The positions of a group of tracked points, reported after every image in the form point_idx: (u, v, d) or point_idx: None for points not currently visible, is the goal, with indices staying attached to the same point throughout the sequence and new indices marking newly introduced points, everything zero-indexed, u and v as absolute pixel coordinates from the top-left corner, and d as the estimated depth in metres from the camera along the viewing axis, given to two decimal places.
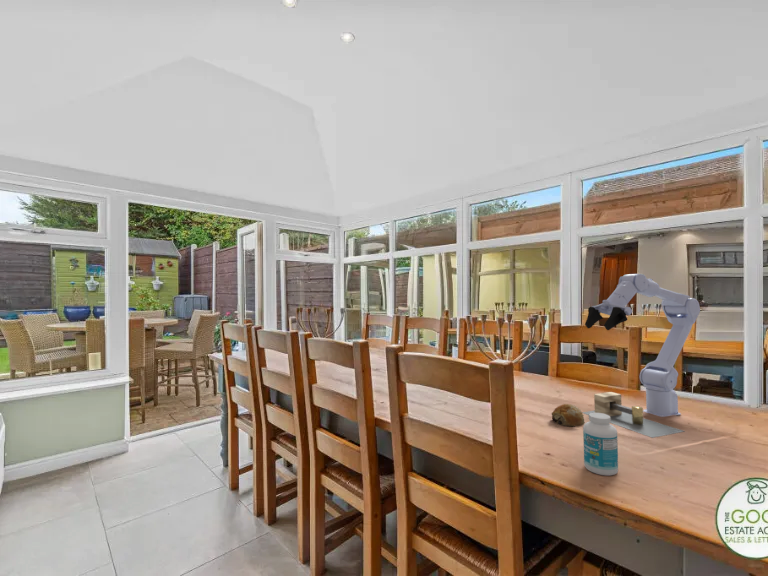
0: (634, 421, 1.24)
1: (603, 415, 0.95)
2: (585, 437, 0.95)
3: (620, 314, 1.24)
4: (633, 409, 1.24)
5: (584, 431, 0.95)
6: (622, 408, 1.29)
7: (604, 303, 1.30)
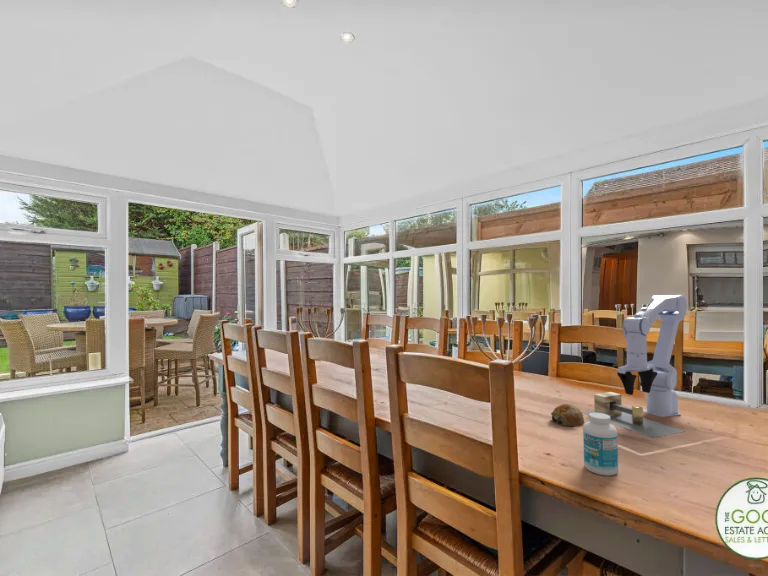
0: (634, 421, 1.24)
1: (603, 415, 0.95)
2: (585, 437, 0.95)
3: None
4: (633, 409, 1.24)
5: (584, 431, 0.95)
6: (622, 408, 1.29)
7: (644, 369, 1.26)
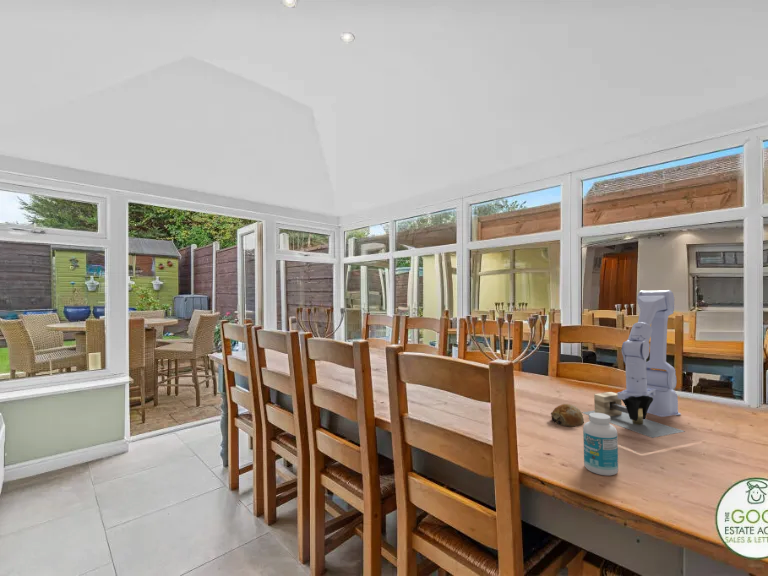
0: (634, 421, 1.24)
1: (603, 415, 0.95)
2: (585, 437, 0.95)
3: None
4: None
5: (584, 431, 0.95)
6: (622, 408, 1.29)
7: None
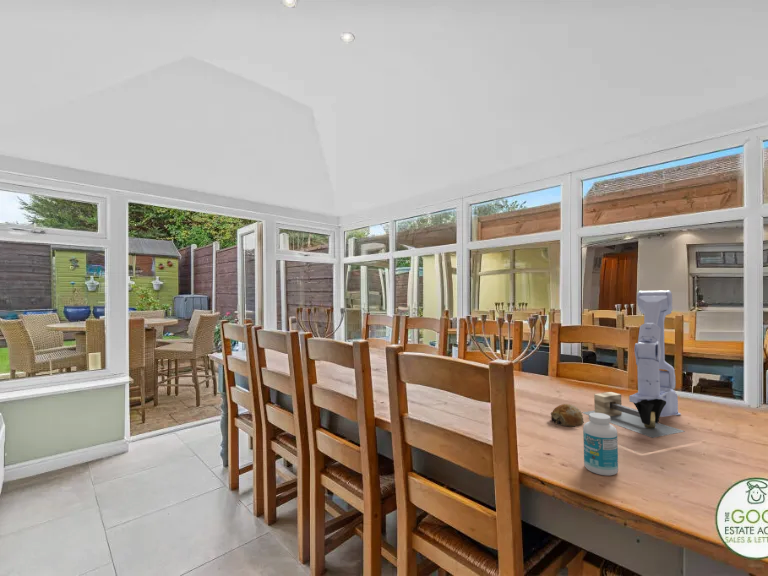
0: (646, 425, 1.20)
1: (603, 415, 0.95)
2: (585, 437, 0.95)
3: None
4: None
5: (584, 431, 0.95)
6: (633, 411, 1.25)
7: (657, 398, 1.18)
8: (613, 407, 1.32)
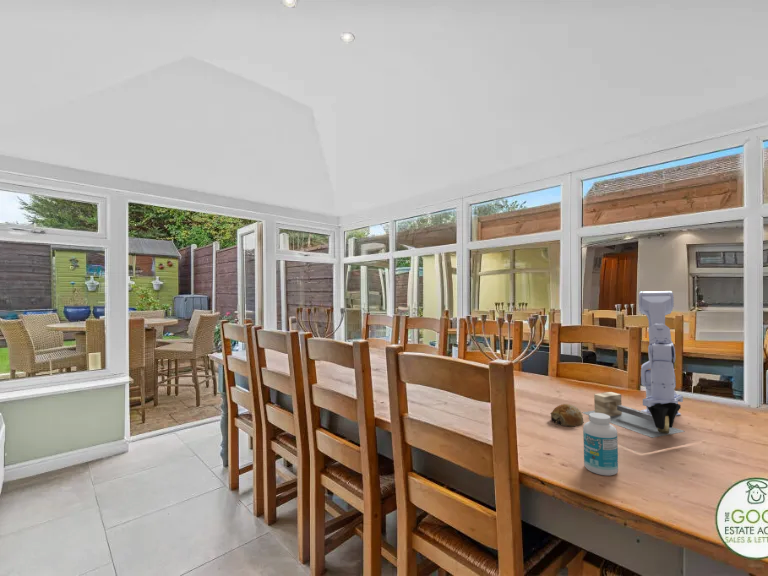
0: (660, 429, 1.16)
1: (603, 415, 0.95)
2: (585, 437, 0.95)
3: None
4: None
5: (584, 431, 0.95)
6: (646, 415, 1.21)
7: None
8: (624, 410, 1.28)
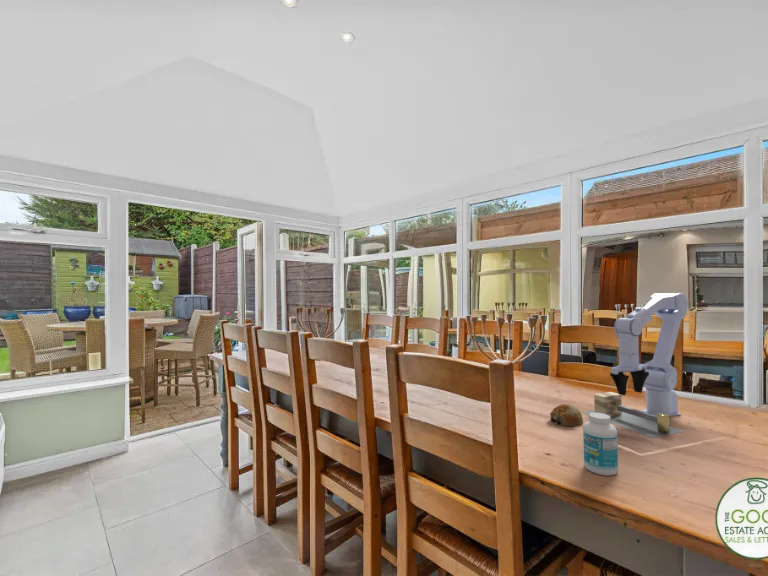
0: (660, 429, 1.16)
1: (603, 415, 0.95)
2: (585, 437, 0.95)
3: None
4: (659, 417, 1.16)
5: (584, 431, 0.95)
6: (646, 415, 1.21)
7: (636, 370, 1.26)
8: (624, 410, 1.28)
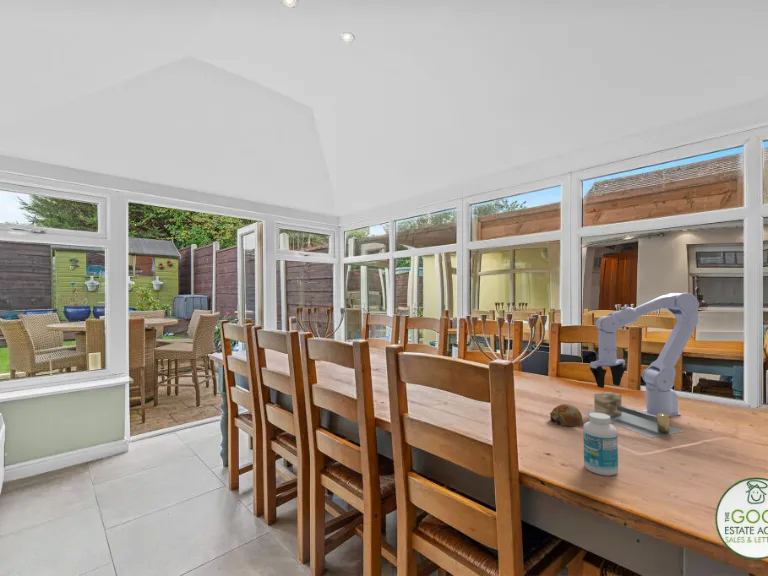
0: (660, 429, 1.16)
1: (603, 415, 0.95)
2: (585, 437, 0.95)
3: None
4: (659, 417, 1.16)
5: (584, 431, 0.95)
6: (646, 415, 1.21)
7: (614, 364, 1.36)
8: (624, 410, 1.28)
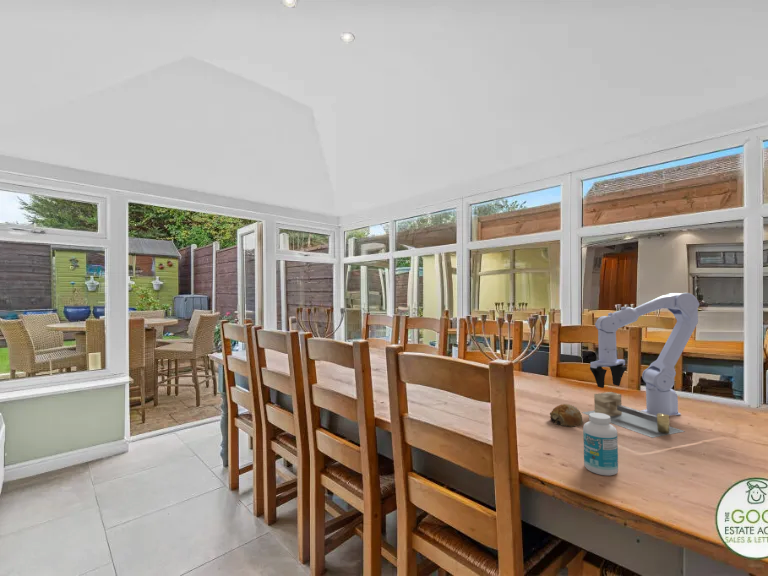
0: (660, 429, 1.16)
1: (603, 415, 0.95)
2: (585, 437, 0.95)
3: None
4: (659, 417, 1.16)
5: (584, 431, 0.95)
6: (646, 415, 1.21)
7: (614, 364, 1.36)
8: (624, 410, 1.28)
